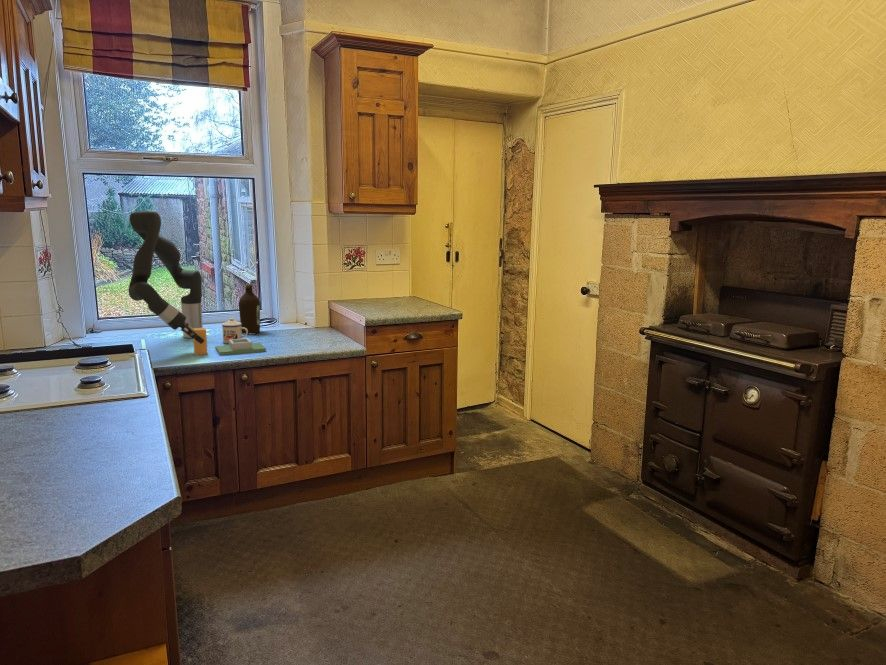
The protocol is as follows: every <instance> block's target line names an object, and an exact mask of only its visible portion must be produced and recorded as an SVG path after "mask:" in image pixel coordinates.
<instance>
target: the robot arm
mask: <svg viewBox="0 0 886 665" xmlns="http://www.w3.org/2000/svg"><path fill="white" fill-rule="evenodd" d="M161 219H162V218H161V215H160V214H159V212H157V210H138V211H134V212H131V214H130V215H129V222H130V226H131V228H132V229H133V230H134V232H135V233H136V234H137V235H138V236H139V237H140V238H141V239H142V240H143V243H142V244H141V246H140V247H139V249H138V250H137V252H136V253H135V255H134V258H133V266H132V275H131V278H130V282H129V285H128V296H129V297H130V298H131V299H132V300H133V301H136V302H139V301H144V302H145V303H146V304H147V308H148V309H149V310H150V311H151V312H152V313H153V314H154V315H156V316H157V317H158V318H159V319H160V320H161V321H162V322H164V323H165V324H166V325H167V326H169V327H170V328H171V329H173V330H174V331H175V330H177V329H179V328H180V330H181V332H182V336H183V338H184V339H192V340H193V339H195V340H196V341H198V342H199V343H200V344H202V343H203V342H204V339H202V338H201V337H200V336H199V335H198V334H196V333H195V330H194V329H193V328H204V327H203V309H202V296H203V293H202V292H203V289H202V288H203V281H202V280H203V279H202V274H201V273H200V271H199V270H191V269H183V268H182V266H181V265H180V262H181V252H180V250H179V249H178V248H177V246H176V245H175V243H174V242H172V241H171V240H170V239H169V238H167V237H166V236H163V235H161V234H160V231H161V227H162V220H161ZM154 254H155V255H156V256H157V258H158V259H159V261H160V262H161V263H162V264H163V266H164V267H165V268H166V270H167V271H168V272H169V274H170V276H171V277H172V279H173V281H174V282H175V284H176V285H177V287H178V288H181V289H182V290H189V293H188V294H186V295H182V296H181V297H180V305H181V307H180V308H181V311H180V310H178V309H177V308H176V307H175V306H173V305H171V304H170V303H169V302H168V301H166V299H165V298H163V297H161V295H160V294H159V293H158V291H157V290H156V289H155V288H154V287H153V286H152V285H151V284H149V283H148V281H149V279H150V278H151V275H152V268H153V260H154V259H153V258H154ZM193 333H194V335H193Z"/></svg>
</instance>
